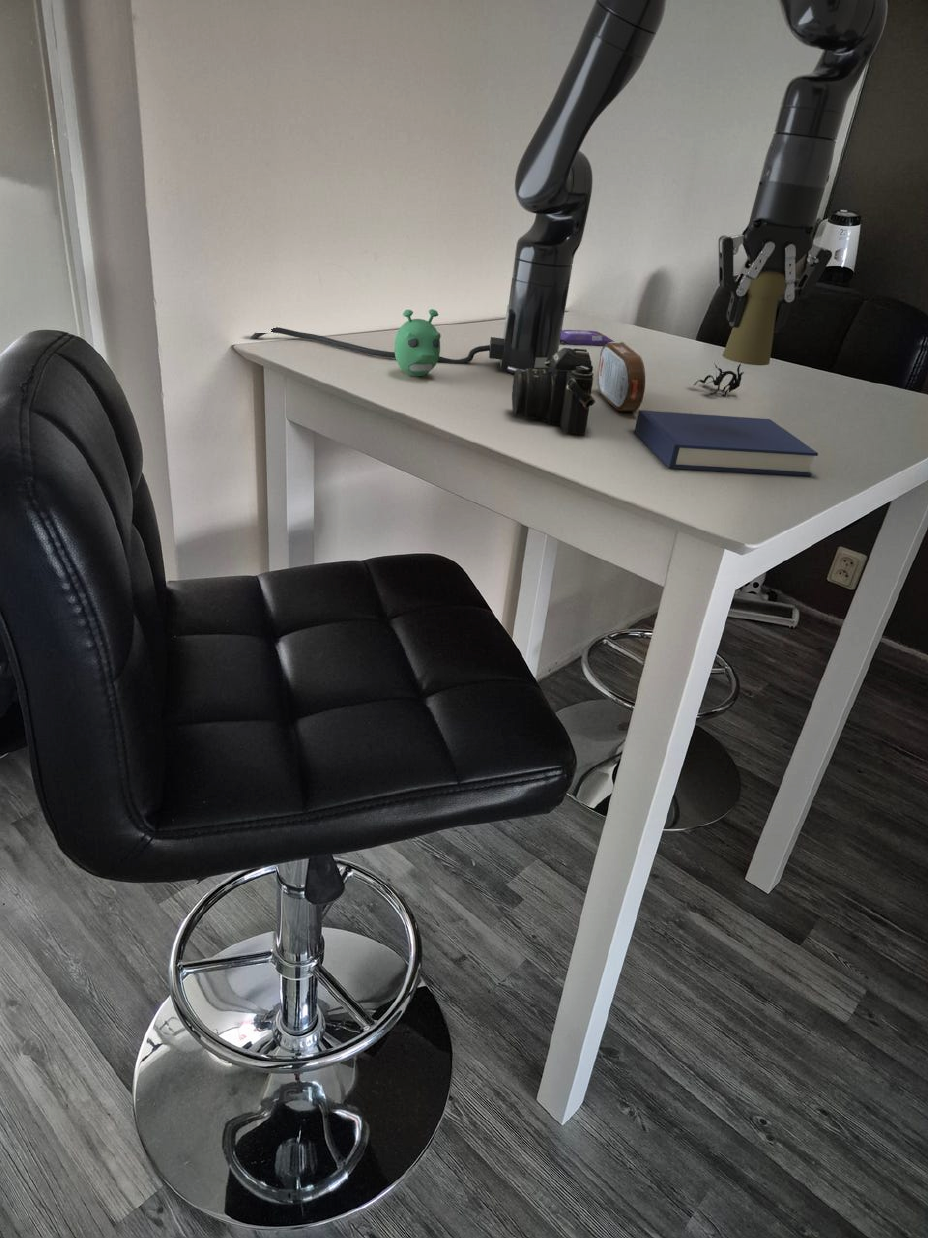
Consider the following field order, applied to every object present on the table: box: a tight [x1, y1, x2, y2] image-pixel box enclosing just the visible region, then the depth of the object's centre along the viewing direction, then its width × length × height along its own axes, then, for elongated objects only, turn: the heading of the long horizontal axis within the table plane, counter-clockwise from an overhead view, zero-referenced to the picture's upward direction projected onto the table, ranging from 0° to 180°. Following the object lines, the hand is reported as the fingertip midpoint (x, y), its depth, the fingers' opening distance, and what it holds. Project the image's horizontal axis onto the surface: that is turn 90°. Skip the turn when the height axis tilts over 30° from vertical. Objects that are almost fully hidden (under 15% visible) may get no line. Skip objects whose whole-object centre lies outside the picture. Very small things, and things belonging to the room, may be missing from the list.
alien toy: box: [394, 308, 442, 377], centre depth 134 cm, size 7×8×10 cm
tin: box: [597, 341, 646, 413], centre depth 134 cm, size 15×3×8 cm, turn 9°
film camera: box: [511, 347, 596, 436], centre depth 123 cm, size 18×12×10 cm
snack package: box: [560, 329, 616, 346], centre depth 171 cm, size 12×2×5 cm
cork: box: [722, 270, 787, 366], centre depth 111 cm, size 6×6×11 cm
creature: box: [693, 362, 745, 397], centre depth 148 cm, size 8×5×8 cm
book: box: [633, 409, 819, 477], centre depth 119 cm, size 20×14×3 cm
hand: (753, 327), depth 112 cm, fingers closed on cork, 4 cm apart
